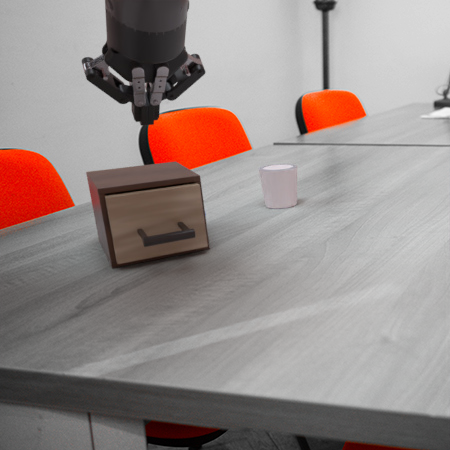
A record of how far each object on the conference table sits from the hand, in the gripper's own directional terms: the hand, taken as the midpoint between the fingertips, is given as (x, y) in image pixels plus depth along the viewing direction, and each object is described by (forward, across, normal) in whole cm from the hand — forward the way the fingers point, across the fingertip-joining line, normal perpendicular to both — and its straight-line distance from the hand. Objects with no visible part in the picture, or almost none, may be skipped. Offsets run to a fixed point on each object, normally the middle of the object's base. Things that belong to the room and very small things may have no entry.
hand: (145, 119), depth 70 cm
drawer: (+16, 0, +9) cm, 18 cm away
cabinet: (+20, 0, +6) cm, 21 cm away
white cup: (+28, -24, -1) cm, 37 cm away
